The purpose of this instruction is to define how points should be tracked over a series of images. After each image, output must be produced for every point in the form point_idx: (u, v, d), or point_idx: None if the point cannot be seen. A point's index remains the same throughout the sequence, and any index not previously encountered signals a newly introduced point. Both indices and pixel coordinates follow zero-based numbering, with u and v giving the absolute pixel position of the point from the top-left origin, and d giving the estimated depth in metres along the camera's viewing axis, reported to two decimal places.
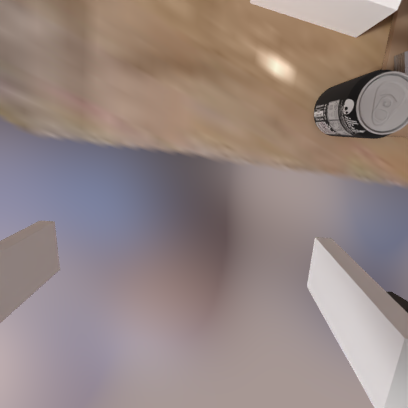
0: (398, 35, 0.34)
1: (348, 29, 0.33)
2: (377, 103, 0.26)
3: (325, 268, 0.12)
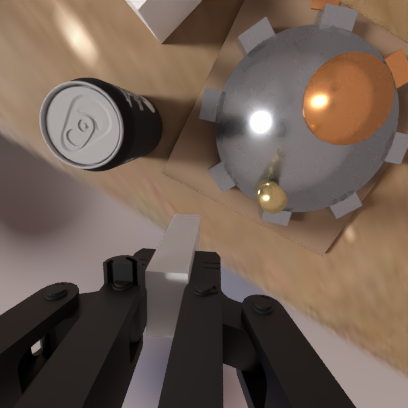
0: (219, 68, 0.27)
1: None
2: (73, 120, 0.18)
3: None
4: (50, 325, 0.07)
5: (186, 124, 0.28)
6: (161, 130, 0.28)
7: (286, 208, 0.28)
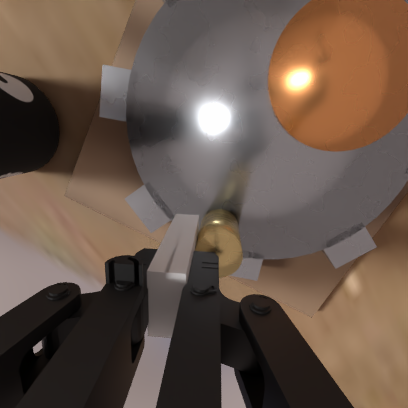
0: (136, 29, 0.16)
1: None
2: None
3: None
4: (52, 325, 0.07)
5: (93, 121, 0.18)
6: (55, 131, 0.18)
7: (254, 254, 0.17)
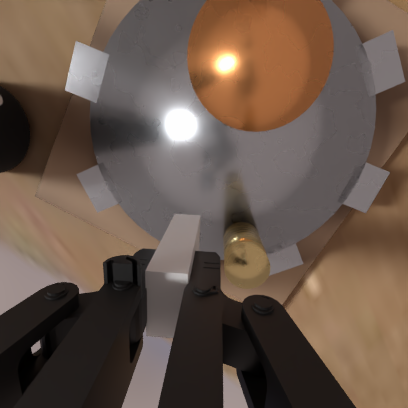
0: (102, 40, 0.17)
1: None
2: None
3: None
4: (50, 325, 0.07)
5: (62, 125, 0.19)
6: (25, 134, 0.19)
7: (285, 243, 0.18)
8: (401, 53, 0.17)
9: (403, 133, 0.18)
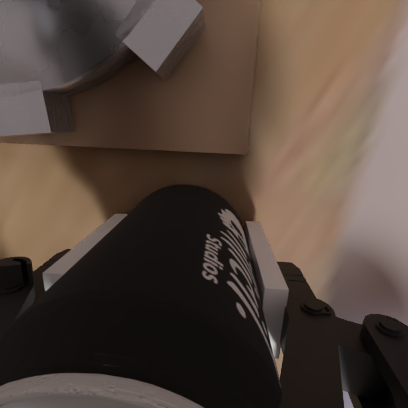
0: None
1: None
2: None
3: (247, 246, 0.13)
4: None
5: (129, 146, 0.14)
6: (163, 189, 0.14)
7: None
8: None
9: None
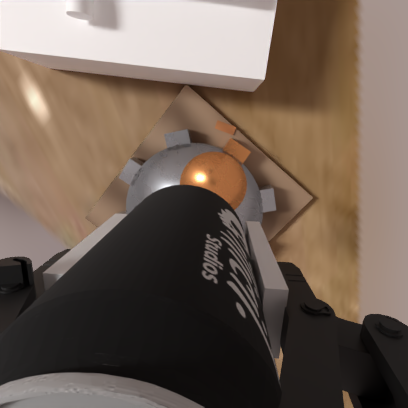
0: (141, 152, 0.34)
1: None
2: None
3: (247, 246, 0.13)
4: None
5: (110, 186, 0.35)
6: (163, 188, 0.14)
7: None
8: (283, 191, 0.34)
9: (280, 228, 0.36)
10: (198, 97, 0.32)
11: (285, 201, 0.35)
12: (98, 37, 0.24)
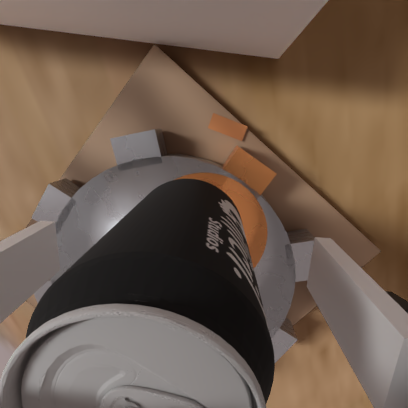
0: (77, 170, 0.19)
1: None
2: None
3: (325, 268, 0.12)
4: None
5: None
6: (168, 182, 0.15)
7: None
8: None
9: None
10: (177, 70, 0.17)
11: None
12: None
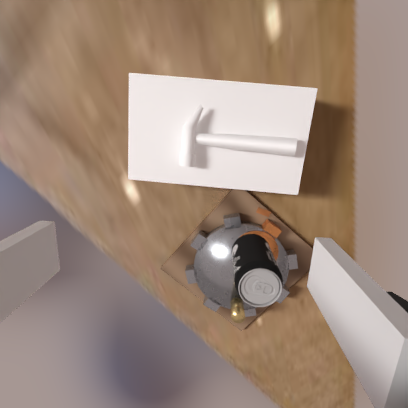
0: (204, 226, 0.49)
1: None
2: (258, 292, 0.36)
3: (325, 268, 0.12)
4: None
5: (180, 248, 0.50)
6: (245, 235, 0.45)
7: (251, 307, 0.50)
8: (302, 253, 0.49)
9: (299, 277, 0.51)
10: (245, 192, 0.47)
11: (303, 260, 0.50)
12: (194, 172, 0.39)
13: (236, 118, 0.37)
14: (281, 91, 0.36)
